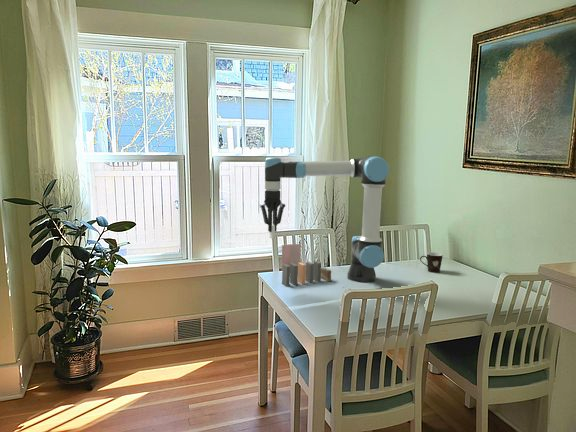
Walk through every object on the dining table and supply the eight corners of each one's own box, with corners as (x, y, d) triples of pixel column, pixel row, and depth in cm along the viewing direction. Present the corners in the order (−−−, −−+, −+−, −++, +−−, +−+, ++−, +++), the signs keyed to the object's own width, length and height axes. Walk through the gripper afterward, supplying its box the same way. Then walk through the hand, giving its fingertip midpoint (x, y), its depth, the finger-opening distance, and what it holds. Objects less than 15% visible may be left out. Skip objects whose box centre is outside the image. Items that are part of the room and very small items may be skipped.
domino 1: (285, 283, 221) (286, 264, 220) (289, 286, 217) (290, 266, 216) (281, 283, 221) (282, 264, 219) (286, 286, 216) (287, 266, 215)
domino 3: (308, 280, 227) (308, 261, 226) (313, 282, 223) (313, 263, 221) (305, 280, 226) (305, 262, 225) (310, 283, 222) (310, 264, 221)
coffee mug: (443, 270, 250) (444, 253, 248) (439, 274, 243) (440, 256, 241) (422, 267, 256) (423, 251, 255) (418, 270, 249) (419, 253, 247)
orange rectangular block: (302, 284, 220) (302, 265, 219) (297, 281, 224) (298, 262, 223) (305, 283, 221) (305, 264, 219) (300, 281, 225) (301, 262, 224)
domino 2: (293, 282, 223) (293, 263, 222) (297, 284, 219) (297, 265, 217) (289, 282, 223) (290, 263, 221) (294, 285, 218) (294, 265, 217)
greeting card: (299, 269, 249) (300, 243, 247) (305, 272, 243) (305, 246, 241) (281, 271, 245) (281, 244, 243) (286, 274, 238) (286, 247, 236)
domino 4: (316, 279, 229) (316, 260, 228) (320, 281, 225) (321, 263, 223) (313, 279, 228) (313, 261, 227) (317, 282, 224) (318, 263, 222)
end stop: (324, 277, 232) (324, 266, 231) (330, 281, 226) (331, 270, 225) (320, 278, 231) (321, 267, 231) (327, 281, 225) (327, 270, 224)
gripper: (281, 189, 215) (281, 236, 218) (257, 189, 210) (257, 237, 213) (288, 190, 208) (287, 238, 212) (263, 190, 203) (262, 240, 206)
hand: (272, 238), depth 212 cm, fingers closed
